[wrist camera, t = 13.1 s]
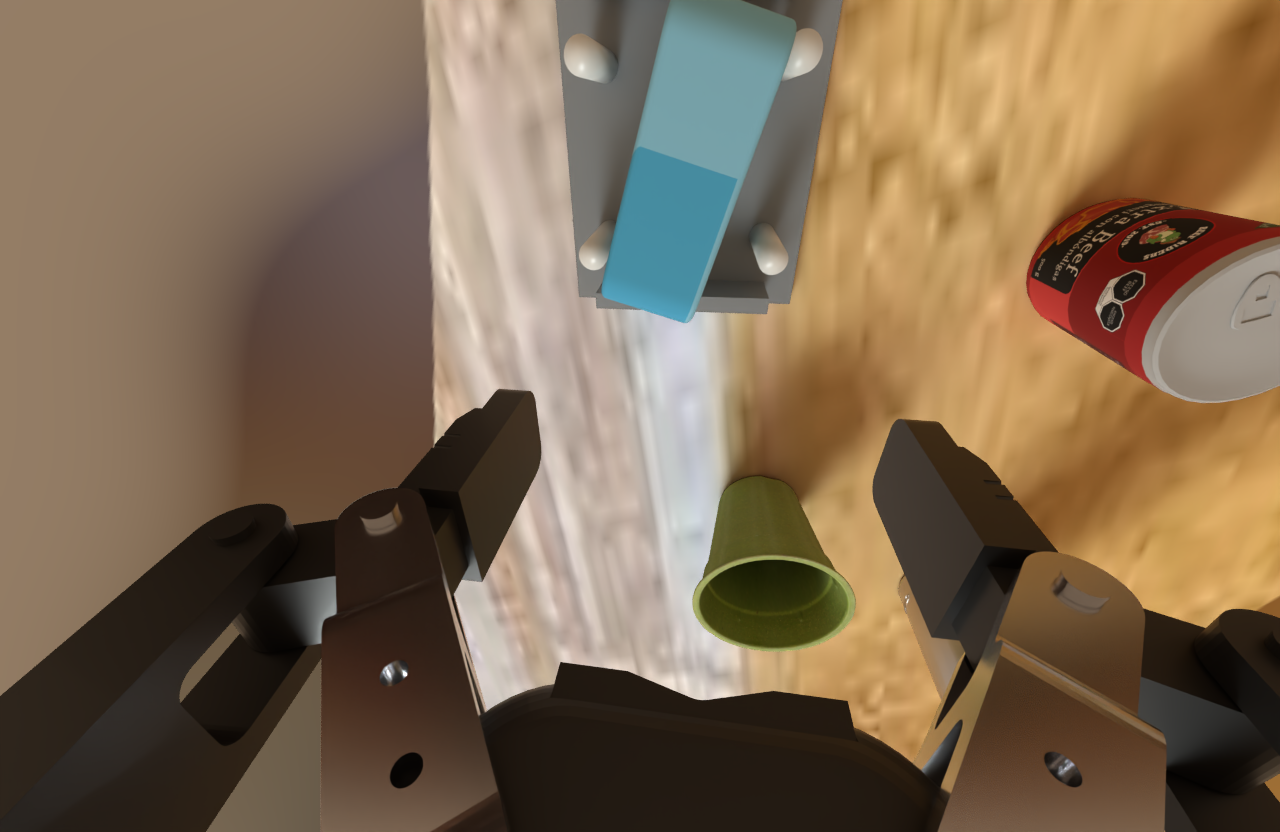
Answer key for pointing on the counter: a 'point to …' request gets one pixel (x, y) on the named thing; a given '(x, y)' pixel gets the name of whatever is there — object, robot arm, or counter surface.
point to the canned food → (1167, 295)
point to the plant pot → (769, 573)
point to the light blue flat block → (694, 149)
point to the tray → (608, 125)
